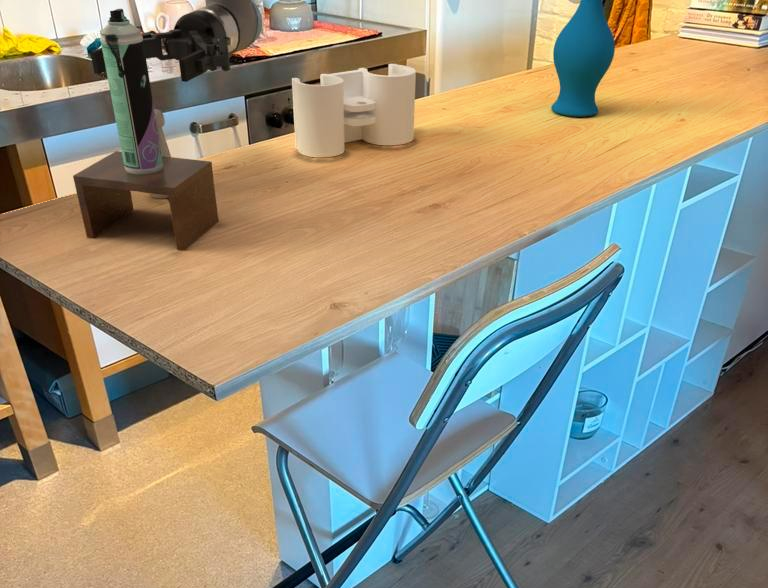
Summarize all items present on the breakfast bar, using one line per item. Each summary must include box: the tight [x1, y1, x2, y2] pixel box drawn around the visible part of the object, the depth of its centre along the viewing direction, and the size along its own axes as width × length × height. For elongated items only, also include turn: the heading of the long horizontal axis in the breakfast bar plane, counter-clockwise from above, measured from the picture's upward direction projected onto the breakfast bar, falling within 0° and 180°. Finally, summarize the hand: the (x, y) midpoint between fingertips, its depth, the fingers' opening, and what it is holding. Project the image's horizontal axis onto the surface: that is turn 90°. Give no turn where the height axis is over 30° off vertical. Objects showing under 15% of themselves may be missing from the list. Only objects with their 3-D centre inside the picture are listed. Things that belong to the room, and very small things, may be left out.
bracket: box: [291, 63, 417, 158], centre depth 154 cm, size 25×10×12 cm, turn 124°
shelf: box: [72, 150, 219, 251], centre depth 121 cm, size 16×12×9 cm
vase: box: [550, 0, 616, 118], centre depth 169 cm, size 12×13×28 cm
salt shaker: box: [148, 108, 172, 200], centre depth 132 cm, size 6×6×13 cm
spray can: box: [99, 8, 163, 174], centre depth 112 cm, size 6×6×20 cm
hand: (137, 66), depth 112 cm, fingers open, 13 cm apart
